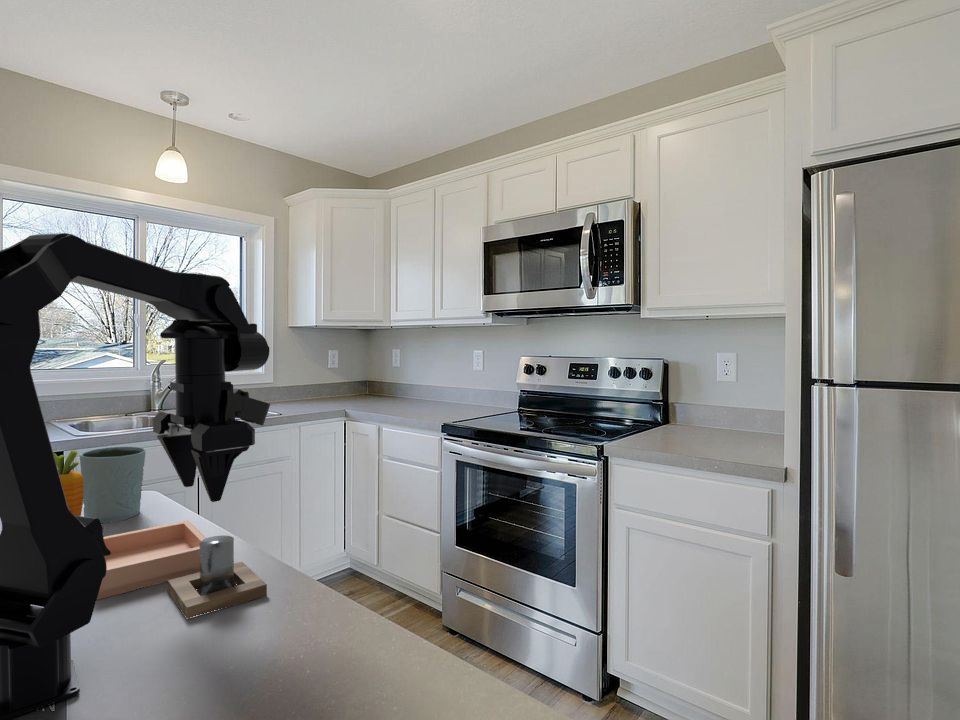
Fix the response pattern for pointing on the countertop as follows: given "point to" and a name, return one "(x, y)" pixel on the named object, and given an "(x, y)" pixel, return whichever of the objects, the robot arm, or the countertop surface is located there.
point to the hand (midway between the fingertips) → (201, 493)
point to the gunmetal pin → (216, 564)
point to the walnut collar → (196, 604)
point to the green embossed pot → (112, 482)
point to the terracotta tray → (150, 557)
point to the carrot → (71, 482)
